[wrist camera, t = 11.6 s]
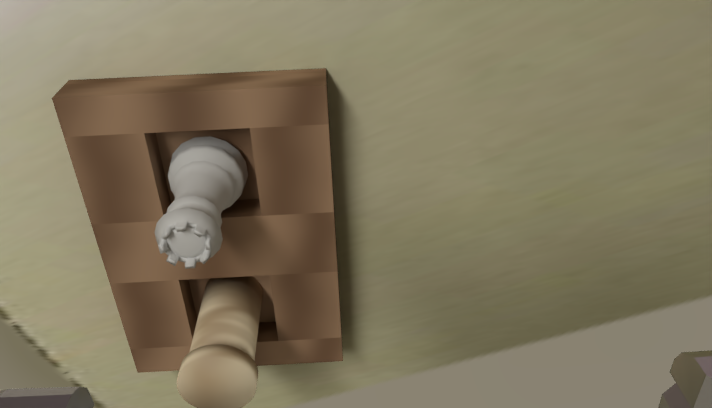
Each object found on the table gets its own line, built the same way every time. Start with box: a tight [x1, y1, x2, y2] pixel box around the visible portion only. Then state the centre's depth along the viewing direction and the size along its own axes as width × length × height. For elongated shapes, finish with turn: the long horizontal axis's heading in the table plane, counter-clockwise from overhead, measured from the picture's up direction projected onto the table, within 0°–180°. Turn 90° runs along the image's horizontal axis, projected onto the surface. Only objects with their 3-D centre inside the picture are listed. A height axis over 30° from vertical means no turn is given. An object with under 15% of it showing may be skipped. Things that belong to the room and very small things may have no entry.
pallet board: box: [52, 68, 343, 408], centre depth 36 cm, size 14×20×9 cm
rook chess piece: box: [155, 136, 248, 269], centre depth 33 cm, size 4×4×8 cm
